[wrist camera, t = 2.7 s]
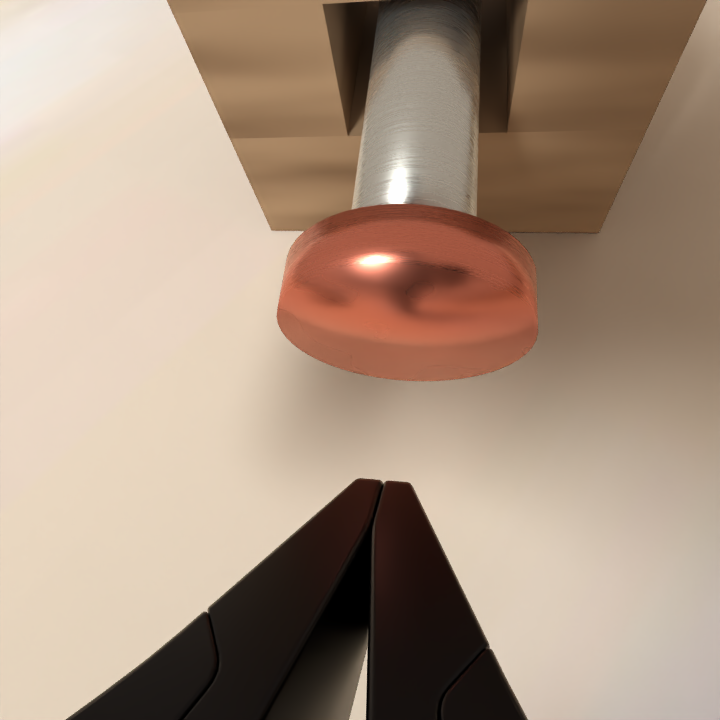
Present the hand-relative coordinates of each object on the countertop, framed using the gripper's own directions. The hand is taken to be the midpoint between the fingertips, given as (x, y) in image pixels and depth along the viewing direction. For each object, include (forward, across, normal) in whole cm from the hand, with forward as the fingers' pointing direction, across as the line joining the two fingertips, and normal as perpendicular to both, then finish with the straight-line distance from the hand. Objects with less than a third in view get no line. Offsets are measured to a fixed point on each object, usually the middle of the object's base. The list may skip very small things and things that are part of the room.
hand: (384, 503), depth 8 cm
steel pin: (+11, 0, -5) cm, 12 cm away
